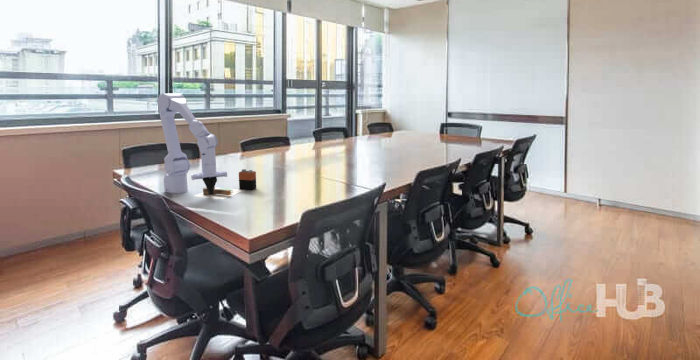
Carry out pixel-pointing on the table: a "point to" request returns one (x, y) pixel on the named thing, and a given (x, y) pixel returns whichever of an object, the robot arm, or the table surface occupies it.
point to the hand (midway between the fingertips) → (210, 194)
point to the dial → (217, 191)
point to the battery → (247, 180)
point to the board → (219, 196)
